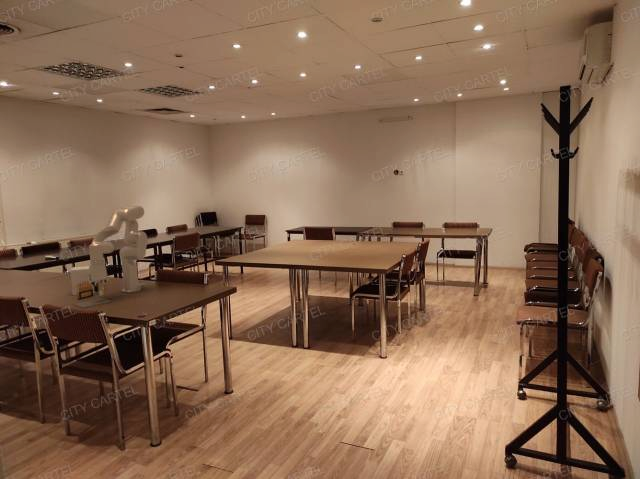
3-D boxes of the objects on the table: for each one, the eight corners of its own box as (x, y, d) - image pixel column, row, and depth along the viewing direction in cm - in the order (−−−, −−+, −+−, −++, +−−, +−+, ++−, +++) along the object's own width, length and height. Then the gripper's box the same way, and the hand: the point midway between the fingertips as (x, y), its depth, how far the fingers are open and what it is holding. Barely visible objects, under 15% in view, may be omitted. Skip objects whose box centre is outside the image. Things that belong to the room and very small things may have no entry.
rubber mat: (102, 299, 304) (101, 298, 304) (111, 302, 295) (111, 301, 295) (73, 304, 291) (73, 303, 291) (82, 308, 282) (82, 307, 282)
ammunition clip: (79, 299, 304) (77, 282, 302) (77, 299, 305) (75, 281, 303) (93, 296, 313) (92, 278, 312) (91, 295, 314) (90, 278, 313)
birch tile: (99, 293, 299) (98, 281, 299) (104, 294, 295) (103, 282, 294) (94, 294, 297) (93, 282, 296) (99, 295, 292) (98, 283, 292)
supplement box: (102, 289, 334) (100, 264, 332) (99, 293, 322) (97, 267, 319) (75, 291, 329) (73, 266, 327) (72, 295, 316) (69, 269, 314)
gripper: (107, 260, 302) (109, 288, 304) (81, 264, 290) (83, 292, 292) (112, 261, 297) (114, 289, 299) (86, 265, 285) (88, 294, 287)
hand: (99, 290), depth 295 cm, fingers closed on birch tile, 3 cm apart
